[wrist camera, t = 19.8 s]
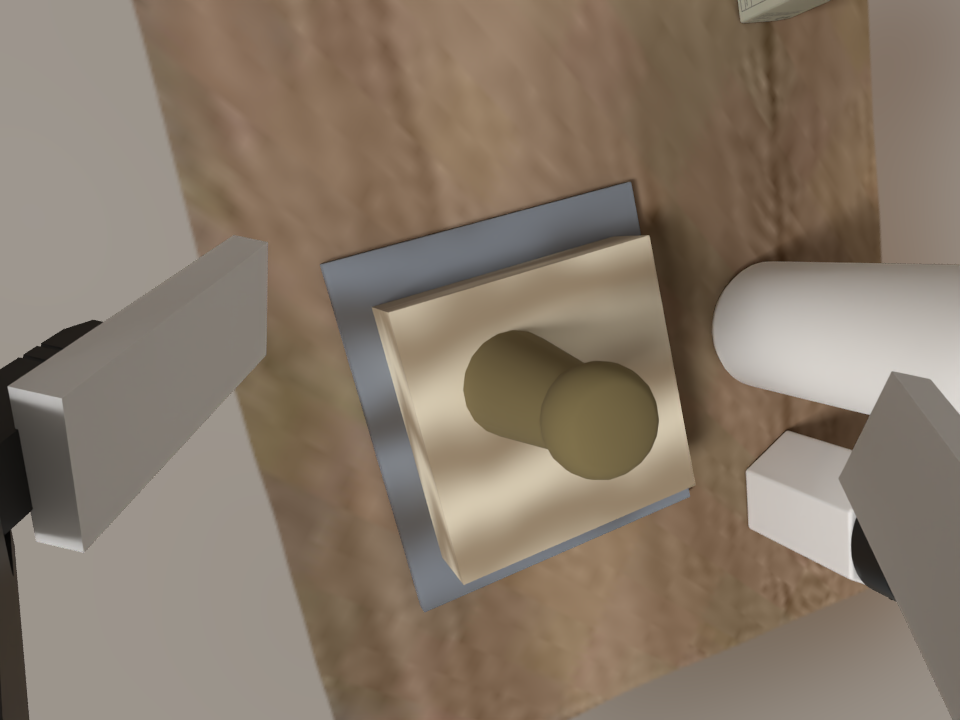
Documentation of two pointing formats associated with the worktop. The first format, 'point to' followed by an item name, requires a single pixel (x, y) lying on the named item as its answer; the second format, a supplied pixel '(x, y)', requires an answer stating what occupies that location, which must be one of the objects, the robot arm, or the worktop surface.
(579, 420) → the cork
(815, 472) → the jar
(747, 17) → the skincare box
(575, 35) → the worktop surface
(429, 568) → the plinth
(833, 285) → the alcohol
